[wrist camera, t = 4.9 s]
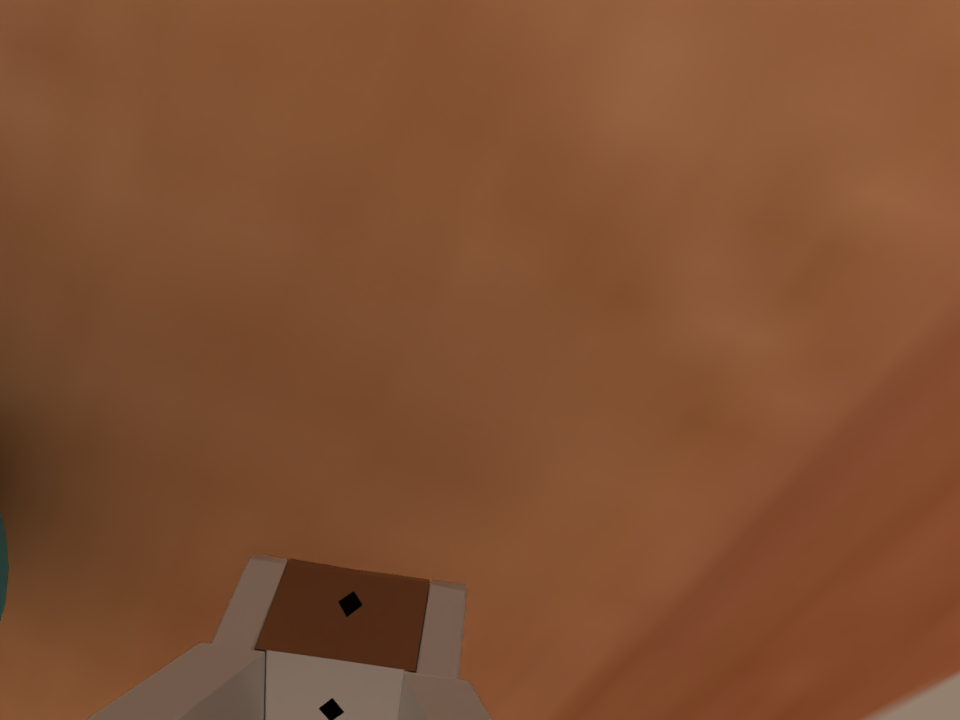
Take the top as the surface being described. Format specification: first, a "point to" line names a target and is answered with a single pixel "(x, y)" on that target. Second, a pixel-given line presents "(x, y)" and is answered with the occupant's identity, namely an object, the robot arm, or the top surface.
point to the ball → (3, 567)
